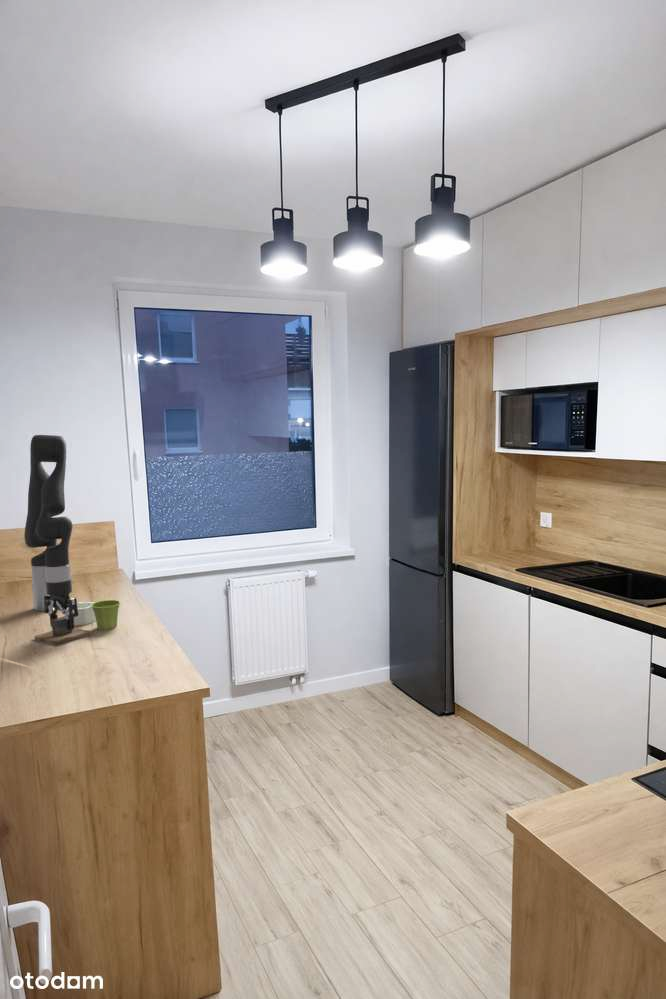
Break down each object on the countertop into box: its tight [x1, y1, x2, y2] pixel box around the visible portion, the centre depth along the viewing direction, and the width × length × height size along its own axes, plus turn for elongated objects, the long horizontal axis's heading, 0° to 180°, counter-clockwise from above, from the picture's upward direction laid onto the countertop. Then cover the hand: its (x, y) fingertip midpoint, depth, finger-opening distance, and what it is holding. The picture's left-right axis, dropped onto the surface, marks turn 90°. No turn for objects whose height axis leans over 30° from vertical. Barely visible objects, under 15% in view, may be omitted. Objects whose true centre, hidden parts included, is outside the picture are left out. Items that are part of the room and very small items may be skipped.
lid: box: [34, 615, 91, 645], centre depth 211 cm, size 12×12×6 cm
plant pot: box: [91, 599, 121, 631], centre depth 221 cm, size 9×9×9 cm
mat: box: [30, 632, 95, 648], centre depth 211 cm, size 14×14×1 cm
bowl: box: [67, 601, 96, 626], centre depth 230 cm, size 10×10×6 cm
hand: (62, 628), depth 211 cm, fingers open, 8 cm apart
